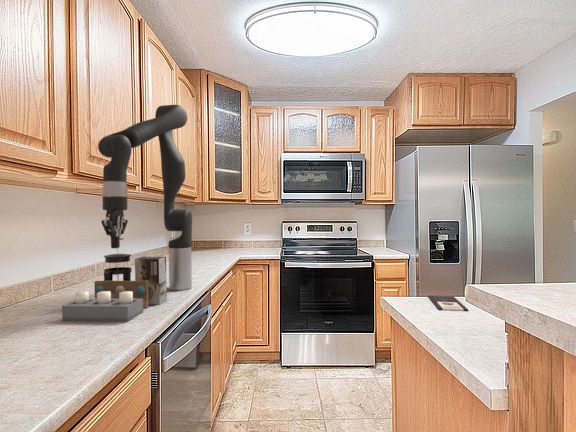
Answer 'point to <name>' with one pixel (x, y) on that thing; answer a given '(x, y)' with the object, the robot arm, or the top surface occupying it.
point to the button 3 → (126, 297)
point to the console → (102, 311)
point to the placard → (124, 289)
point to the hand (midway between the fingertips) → (115, 248)
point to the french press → (118, 270)
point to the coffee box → (153, 277)
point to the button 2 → (104, 297)
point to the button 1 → (81, 297)
